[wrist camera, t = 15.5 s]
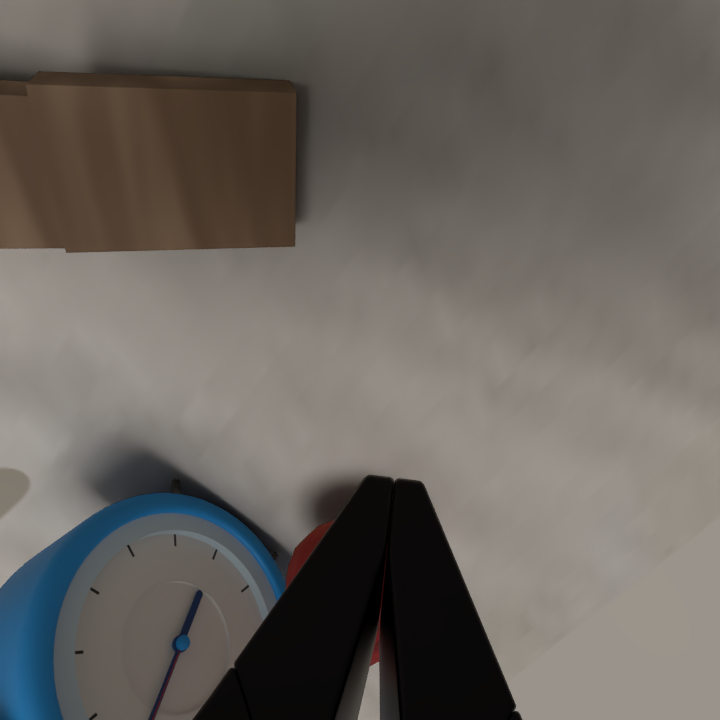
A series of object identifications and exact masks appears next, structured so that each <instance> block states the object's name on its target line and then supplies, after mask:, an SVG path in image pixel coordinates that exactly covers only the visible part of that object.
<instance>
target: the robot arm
mask: <svg viewBox="0 0 720 720" xmlns="http://www.w3.org/2000/svg"><path fill="white" fill-rule="evenodd" d="M393 487H394V490H393ZM392 497H393V499H392ZM391 507H392V509H391ZM390 516H391V518H390ZM389 526H390V527H389ZM388 535H389V536H388ZM387 544H388V546H387ZM386 554H387V555H386ZM385 563H386V565H385ZM384 572H385V575H384ZM383 582H384V584H383ZM382 591H383V594H382ZM381 600H382V604H381ZM380 610H381V614H380ZM379 617H380V629H379V667H380V720H522V718H521V715H520V714H519V712H517V711H515V708H516V704H515V702H514V699H513V697H512V694H511V692H510V690H509V687H508V685H507V682H506V680H505V678H504V675H503V673H502V670H501V668H500V666H499V663H498V661H497V658H496V656H495V654H494V651H493V649H492V646H491V644H490V642H489V639H488V637H487V634H486V632H485V630H484V627H483V625H482V622H481V620H480V618H479V615H478V613H477V610H476V608H475V606H474V603H473V601H472V598H471V596H470V594H469V591H468V589H467V586H466V584H465V582H464V579H463V577H462V574H461V572H460V570H459V567H458V565H457V562H456V560H455V557H454V555H453V553H452V550H451V548H450V545H449V543H448V541H447V538H446V536H445V533H444V531H443V529H442V526H441V524H440V521H439V519H438V517H437V514H436V512H435V509H434V507H433V505H432V502H431V500H430V497H429V495H428V493H427V490H426V488H425V486H424V484H423V483H422V482H421V481H417V480H409V479H401V478H399V479H396V480H395V482H394V481H393V479H392V478H391V477H385V476H377V475H368V476H366V477H365V478H364V479H363V480H362V482H361V483H360V485H359V486H358V488H357V489H356V490H355V492H354V493H353V495H352V496H351V497H350V499H349V500H348V502H347V503H346V505H345V506H344V507H343V509H342V510H341V512H340V513H339V514H338V516H337V517H336V519H335V520H334V522H333V523H332V524H331V526H330V527H329V529H328V530H327V531H326V533H325V534H324V536H323V537H322V539H321V540H320V541H319V543H318V544H317V546H316V547H315V548H314V550H313V551H312V553H311V554H310V555H309V557H308V558H307V560H306V561H305V563H304V564H303V565H302V567H301V568H300V570H299V571H298V572H297V574H296V575H295V577H294V578H293V580H292V581H291V582H290V584H289V585H288V587H287V588H286V589H285V591H284V592H283V594H282V595H281V597H280V598H279V599H278V601H277V602H276V604H275V605H274V606H273V608H272V609H271V611H270V612H269V614H268V615H267V616H266V618H265V619H264V621H263V622H262V623H261V625H260V626H259V628H258V629H257V631H256V632H255V633H254V635H253V636H252V638H251V639H250V640H249V642H248V643H247V645H246V646H245V648H244V649H243V650H242V652H241V653H240V655H239V656H238V657H237V659H236V660H235V662H234V668H230V669H229V670H228V671H227V672H226V674H225V675H224V677H223V678H222V680H221V681H220V682H219V684H218V685H217V687H216V688H215V689H214V691H213V692H212V694H211V695H210V696H209V698H208V699H207V700H206V702H205V703H204V704H203V706H202V707H201V708H200V710H199V711H198V712H197V714H196V715H195V716H194V718H193V719H192V720H357V719H358V714H359V710H360V706H361V701H362V697H363V693H364V688H365V684H366V680H367V675H368V671H369V667H370V662H371V658H372V653H373V649H374V645H375V640H376V635H377V630H378V624H379Z"/></svg>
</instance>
